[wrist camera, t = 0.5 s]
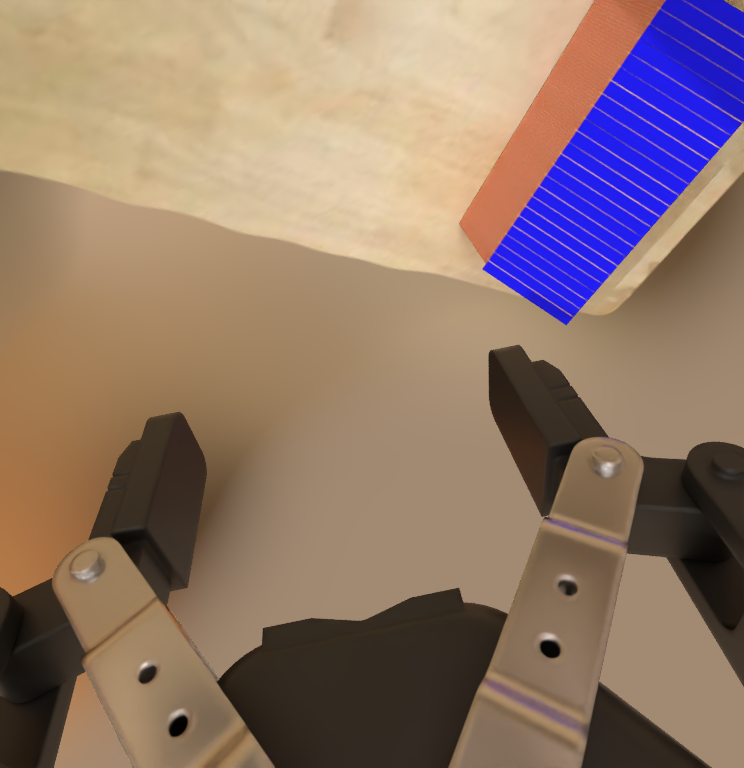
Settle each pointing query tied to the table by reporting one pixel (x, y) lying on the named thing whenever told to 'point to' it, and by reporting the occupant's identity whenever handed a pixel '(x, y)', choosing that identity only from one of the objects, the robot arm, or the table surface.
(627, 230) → the house
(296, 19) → the table surface
